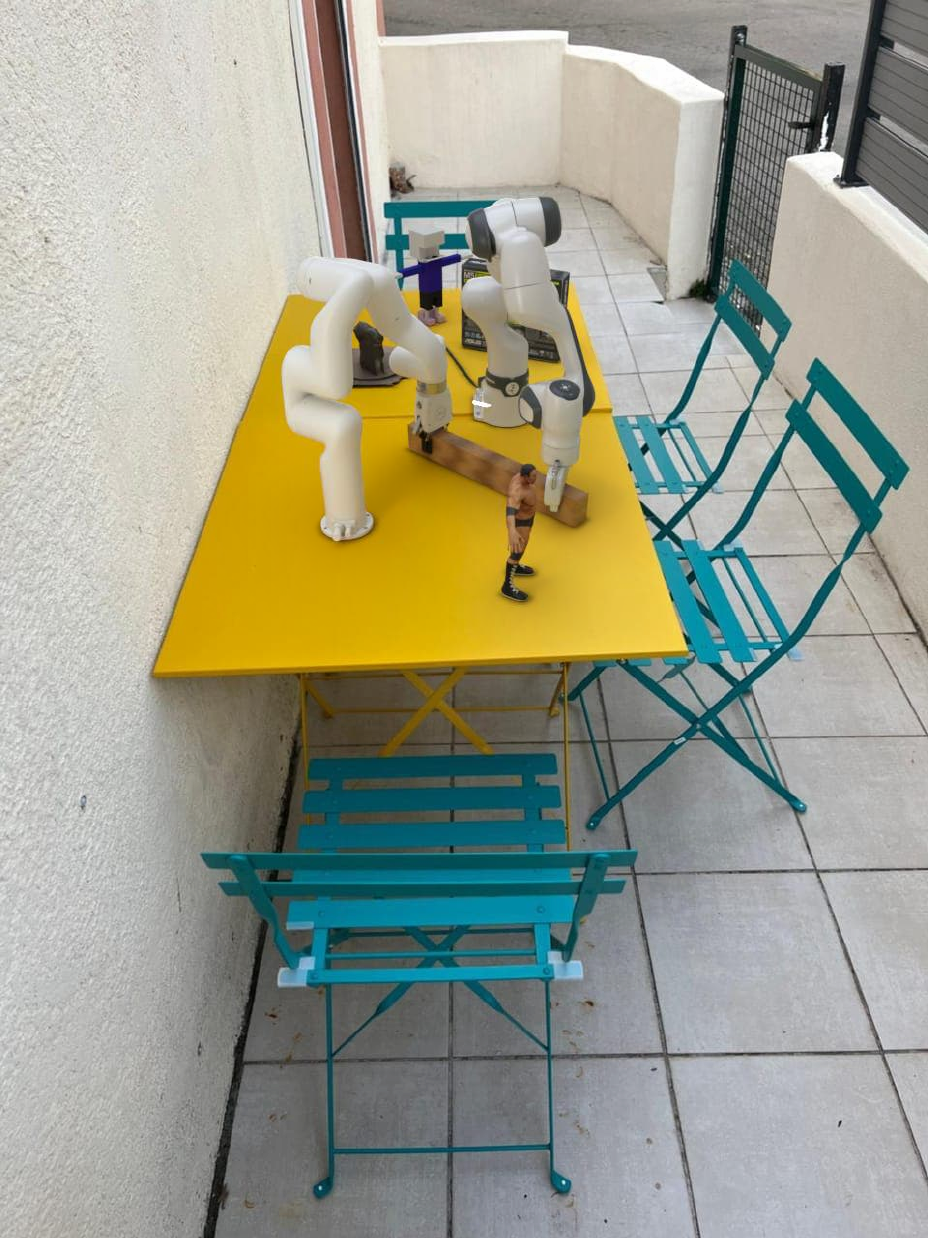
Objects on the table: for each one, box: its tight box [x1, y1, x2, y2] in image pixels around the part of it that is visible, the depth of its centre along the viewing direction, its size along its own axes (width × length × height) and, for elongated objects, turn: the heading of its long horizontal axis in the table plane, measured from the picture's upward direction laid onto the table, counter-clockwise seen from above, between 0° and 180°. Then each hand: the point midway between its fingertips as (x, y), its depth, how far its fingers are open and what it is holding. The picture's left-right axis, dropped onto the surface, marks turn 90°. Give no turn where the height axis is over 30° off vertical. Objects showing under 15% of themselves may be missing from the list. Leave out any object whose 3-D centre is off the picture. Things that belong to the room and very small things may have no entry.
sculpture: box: [352, 320, 405, 387], centre depth 273 cm, size 33×35×16 cm
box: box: [460, 257, 571, 363], centre depth 279 cm, size 34×7×27 cm, turn 68°
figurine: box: [500, 463, 538, 602], centre depth 184 cm, size 24×6×30 cm, turn 168°
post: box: [406, 420, 589, 528], centre depth 224 cm, size 56×5×8 cm, turn 48°
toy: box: [391, 223, 474, 327], centre depth 298 cm, size 35×10×30 cm, turn 130°
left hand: (433, 447), depth 235 cm, fingers closed on post, 4 cm apart
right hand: (556, 501), depth 214 cm, fingers closed on post, 6 cm apart
